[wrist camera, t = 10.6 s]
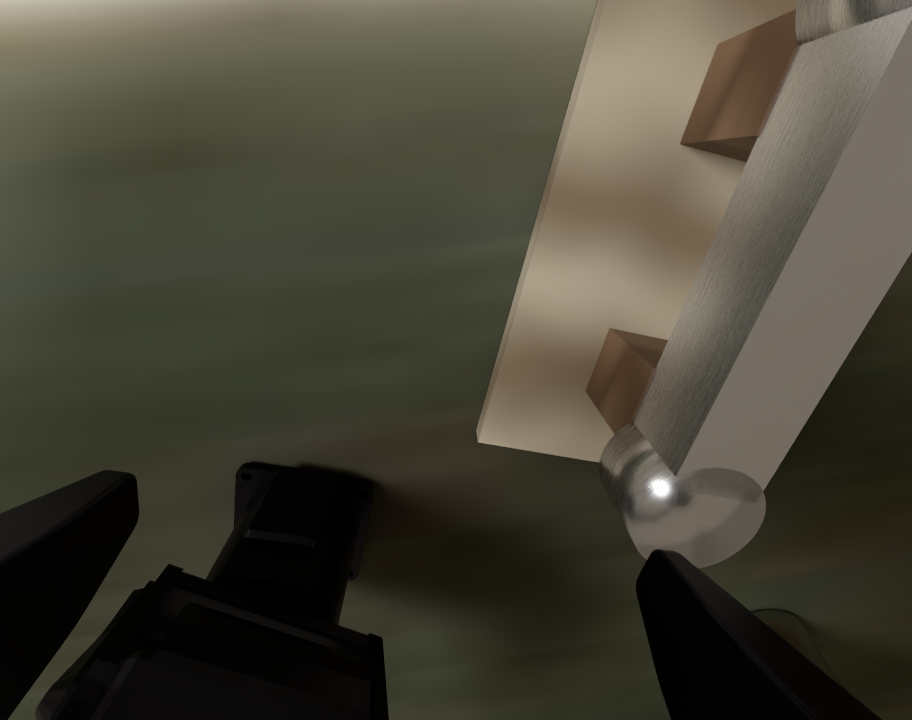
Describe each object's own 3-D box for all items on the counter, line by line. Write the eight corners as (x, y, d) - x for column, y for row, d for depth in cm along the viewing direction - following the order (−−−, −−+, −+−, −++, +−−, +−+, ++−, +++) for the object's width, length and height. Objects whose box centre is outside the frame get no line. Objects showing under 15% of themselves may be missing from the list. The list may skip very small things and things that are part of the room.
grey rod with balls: (680, 511, 17) (727, 577, 14) (583, 495, 16) (613, 561, 14) (1004, -88, 10) (1217, -185, 7) (854, -146, 10) (1023, -273, 7)
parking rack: (684, 466, 22) (749, 542, 18) (476, 430, 21) (487, 503, 16) (933, -13, 15) (1158, -96, 10) (631, -118, 13) (734, -269, 9)
